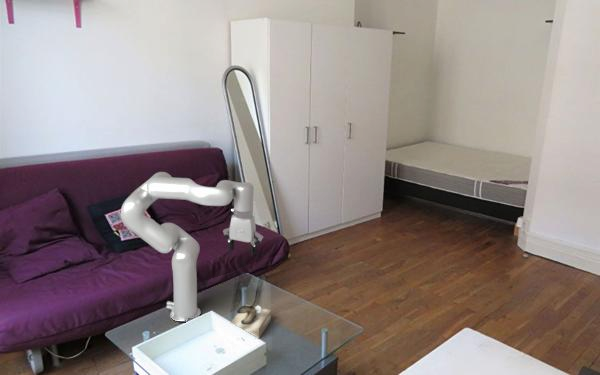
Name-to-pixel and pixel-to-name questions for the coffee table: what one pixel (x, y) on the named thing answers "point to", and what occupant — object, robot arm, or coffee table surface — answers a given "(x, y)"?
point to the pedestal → (254, 322)
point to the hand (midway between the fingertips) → (242, 252)
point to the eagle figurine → (249, 313)
